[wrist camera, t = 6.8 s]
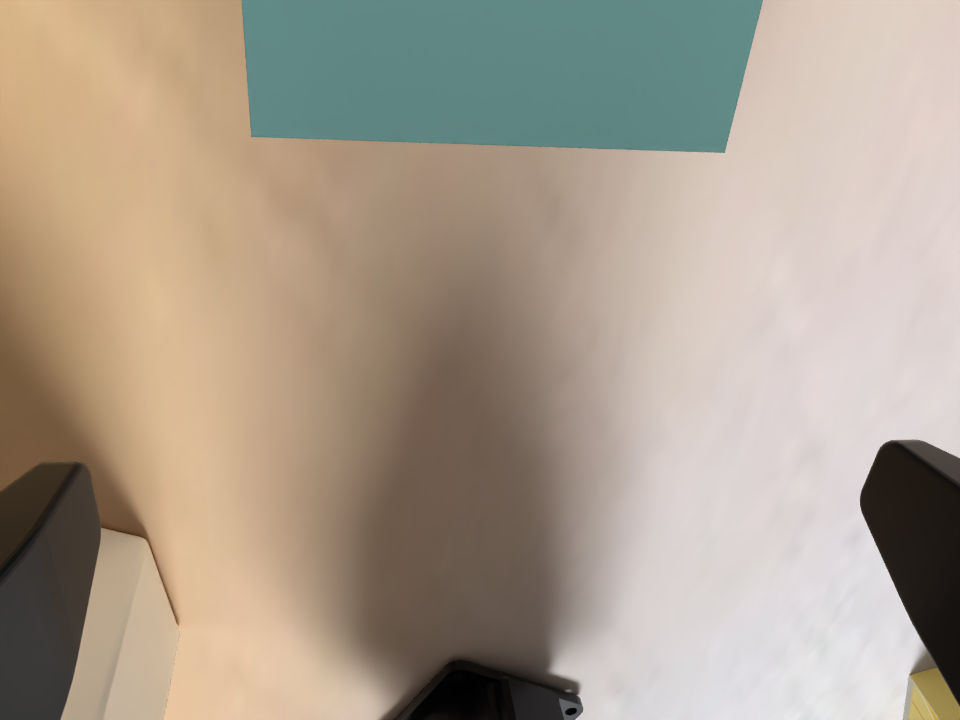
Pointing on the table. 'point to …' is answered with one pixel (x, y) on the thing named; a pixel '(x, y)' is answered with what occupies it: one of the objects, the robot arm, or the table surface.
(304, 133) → the teal block
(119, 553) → the jar
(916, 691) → the pasta box
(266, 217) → the table surface
